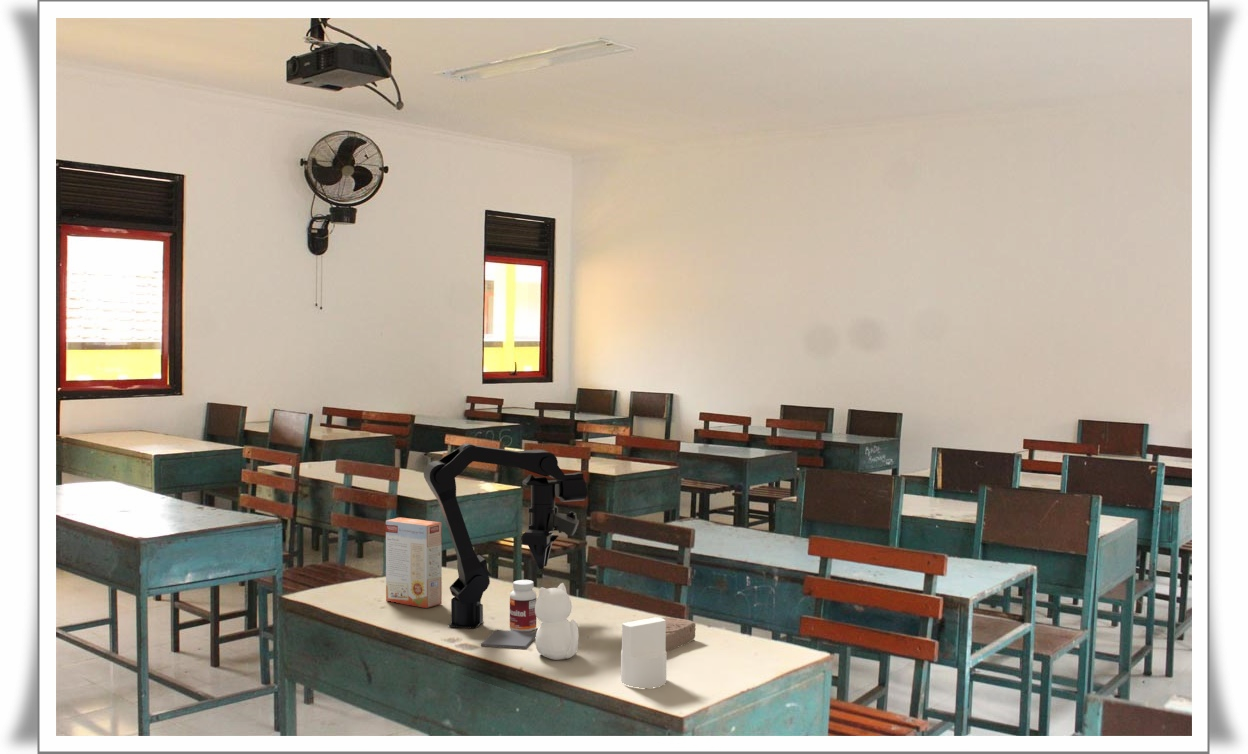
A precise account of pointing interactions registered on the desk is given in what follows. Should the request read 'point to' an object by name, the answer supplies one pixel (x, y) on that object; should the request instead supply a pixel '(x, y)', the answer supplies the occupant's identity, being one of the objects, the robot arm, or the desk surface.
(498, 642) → the mat
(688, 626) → the brick
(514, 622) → the pill bottle
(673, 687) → the desk surface
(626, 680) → the base with upright slab
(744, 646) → the desk surface
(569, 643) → the cat figurine
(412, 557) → the cracker box
